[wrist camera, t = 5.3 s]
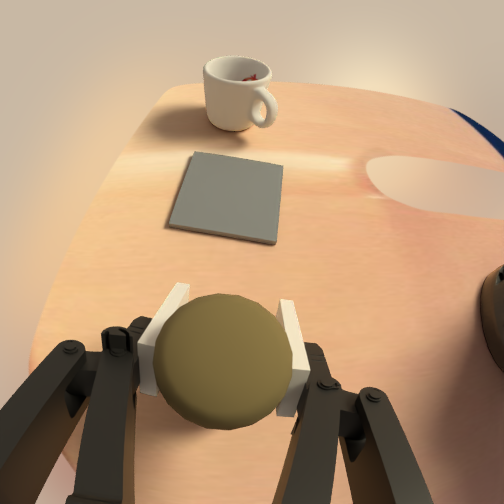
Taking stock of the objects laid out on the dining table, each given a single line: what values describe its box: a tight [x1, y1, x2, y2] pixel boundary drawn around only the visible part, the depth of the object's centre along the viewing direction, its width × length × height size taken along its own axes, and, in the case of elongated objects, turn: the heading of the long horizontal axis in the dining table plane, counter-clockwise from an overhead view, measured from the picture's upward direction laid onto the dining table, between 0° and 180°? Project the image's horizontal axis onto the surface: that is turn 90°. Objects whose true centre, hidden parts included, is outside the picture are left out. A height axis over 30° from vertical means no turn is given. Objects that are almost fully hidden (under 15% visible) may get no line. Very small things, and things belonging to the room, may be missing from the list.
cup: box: [203, 56, 278, 131], centre depth 33 cm, size 11×8×8 cm
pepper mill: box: [152, 294, 293, 430], centre depth 14 cm, size 6×6×11 cm
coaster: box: [169, 152, 283, 245], centre depth 30 cm, size 10×10×1 cm
